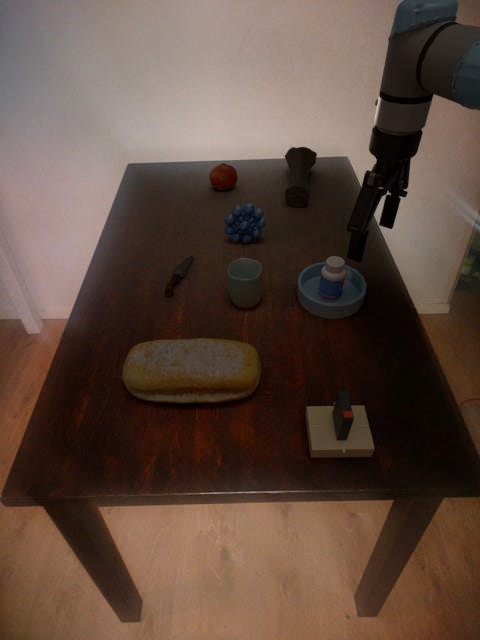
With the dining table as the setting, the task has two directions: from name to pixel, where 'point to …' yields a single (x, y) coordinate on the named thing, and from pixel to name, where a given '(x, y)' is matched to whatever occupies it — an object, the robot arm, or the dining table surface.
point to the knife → (178, 275)
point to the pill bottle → (332, 279)
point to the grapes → (245, 223)
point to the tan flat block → (325, 435)
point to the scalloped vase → (299, 175)
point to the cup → (245, 282)
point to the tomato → (223, 176)
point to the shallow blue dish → (332, 310)
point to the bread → (192, 370)
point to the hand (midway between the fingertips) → (370, 242)
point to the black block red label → (342, 415)
